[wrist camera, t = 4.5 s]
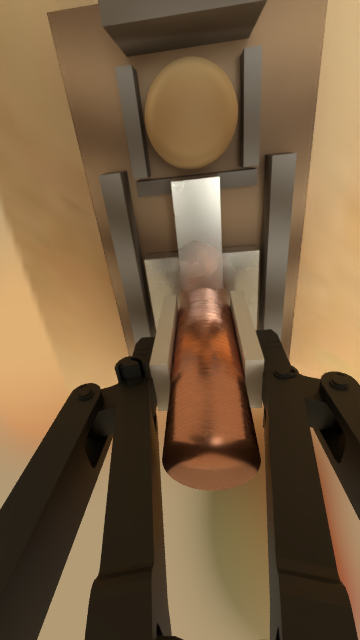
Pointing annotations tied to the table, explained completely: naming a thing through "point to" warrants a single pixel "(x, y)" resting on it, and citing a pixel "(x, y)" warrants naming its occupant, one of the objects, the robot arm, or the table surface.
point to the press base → (232, 166)
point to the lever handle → (206, 343)
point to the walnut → (191, 112)
